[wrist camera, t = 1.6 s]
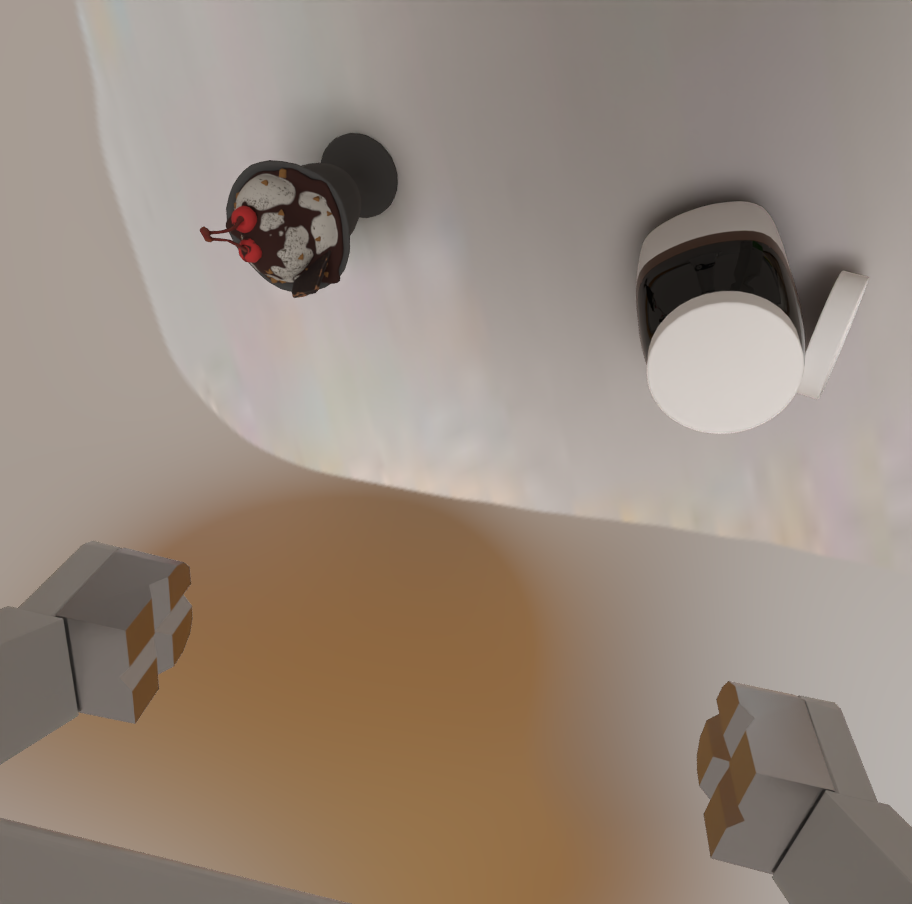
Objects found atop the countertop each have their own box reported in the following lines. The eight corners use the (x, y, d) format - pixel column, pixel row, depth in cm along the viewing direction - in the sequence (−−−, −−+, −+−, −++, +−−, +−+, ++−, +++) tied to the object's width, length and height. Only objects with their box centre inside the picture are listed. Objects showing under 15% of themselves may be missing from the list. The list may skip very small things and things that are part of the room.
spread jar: (627, 215, 42) (610, 294, 33) (847, 147, 38) (898, 217, 28) (675, 392, 48) (672, 503, 39) (872, 352, 43) (922, 466, 34)
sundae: (303, 111, 44) (159, 179, 32) (412, 124, 42) (305, 200, 31) (309, 222, 47) (183, 319, 36) (409, 237, 46) (314, 342, 34)
